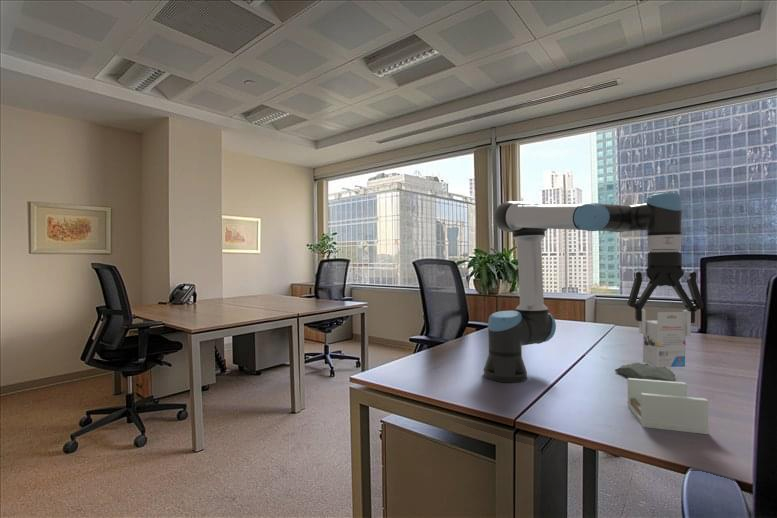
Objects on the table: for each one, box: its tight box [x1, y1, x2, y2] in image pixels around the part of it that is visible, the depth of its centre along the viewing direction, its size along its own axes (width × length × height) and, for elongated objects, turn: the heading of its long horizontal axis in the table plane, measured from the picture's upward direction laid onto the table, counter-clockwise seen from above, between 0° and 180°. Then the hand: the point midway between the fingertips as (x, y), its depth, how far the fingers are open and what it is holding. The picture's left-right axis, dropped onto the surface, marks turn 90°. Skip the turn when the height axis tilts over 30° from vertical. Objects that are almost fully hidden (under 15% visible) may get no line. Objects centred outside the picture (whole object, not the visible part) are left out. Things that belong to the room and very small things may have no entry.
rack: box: [626, 377, 710, 435], centre depth 104 cm, size 14×15×8 cm
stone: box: [614, 362, 677, 382], centre depth 138 cm, size 18×5×15 cm
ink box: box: [642, 311, 687, 368], centre depth 104 cm, size 8×5×15 cm, turn 95°
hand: (664, 334), depth 104 cm, fingers closed on ink box, 9 cm apart
